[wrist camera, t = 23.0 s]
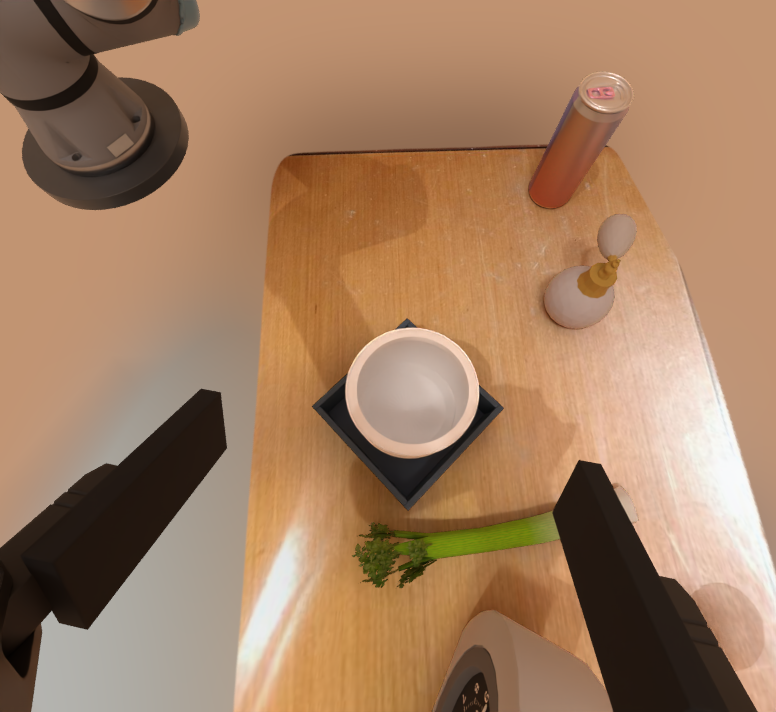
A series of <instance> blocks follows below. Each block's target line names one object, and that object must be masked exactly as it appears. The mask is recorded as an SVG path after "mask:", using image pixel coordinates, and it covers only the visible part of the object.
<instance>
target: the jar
mask: <svg viewBox="0 0 776 712" xmlns="http://www.w3.org/2000/svg"><path fill="white" fill-rule="evenodd" d="M345 395H346V403H347V407H348V411H349V414H350V416H351V418H352V420H353V422H354V424H355V425H356V427H357V428H358V430H359V431H360V432H361V433H362V434H363V435H364V437H365V438H366V439H367V440H368V441H369V442H370V443H371V444H372V445H373V446H374V447H376V448H377V449H379V450H380V451H382V452H384V453H386V454H389V455H391V456H395V457H399V458H420V457H425V456H428V455H431V454H433V453H436V452H438V451H441V450H443V449H445V448H447V447H448V446H450V445H451V444H453V443H454V442H455V441H457V440H458V439H459V438H460V437H461V436H462V435H463V434H464V432H465V431H466V430H467V429H468V427H469V426H470V424H471V422H472V420H473V418H474V416H475V413H476V410H477V407H478V402H479V383H478V378H477V374H476V371H475V369H474V366H473V364H472V362H471V361H470V359H469V358H468V356H467V355H466V353H465V352H464V351H463V350H462V349H461V348H460V347H459V346H458V345H457V344H456V343H455V342H453V341H452V340H450V339H449V338H447V337H446V336H444V335H442V334H440V333H437V332H434V331H431V330H427V329H422V328H401V329H396V330H392V331H389V332H386V333H384V334H382V335H380V336H378V337H376V338H375V339H373V340H372V341H370V342H369V343H368V344H367V345H366V346H365V347H364V348H363V349H362V350H361V351H360V352H359V353H358V355H357V356H356V358H355V359H354V361H353V363H352V365H351V367H350V369H349V372H348V375H347V380H346V388H345Z"/></svg>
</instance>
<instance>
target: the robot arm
mask: <svg viewBox="0 0 776 712" xmlns="http://www.w3.org/2000/svg"><path fill="white" fill-rule="evenodd" d="M199 19H200V14H199V9H198V5H197V2H196V0H0V93H1V94H2V95H3V96H4V97H5V98H7V100H8V101H9V102H10V103H12V104H13V105H14V106H15V108H16V109H17V110H18V112H19V114H20V115H21V117H22V118H23V120H24V122H25V123H26V125H27V127H28V128H29V130H30V131H31V133H32V135H33V136H34V138H35V140H36V141H37V143H38V144H39V146H40V148H41V149H42V150H43V152H44V153H45V154H46V156H47V157H48V158H50V159H51V160H52V161H53V162H54V163H55V164H56V165H57V166H58V167H60V168H61V169H62V170H64V171H66V172H68V173H70V174H73V175H77V176H84V177H95V176H102V175H107V174H111V173H114V172H116V171H119V170H121V169H123V168H125V167H127V166H128V165H130V164H131V163H133V162H134V161H136V160H137V159H138V158H139V157H140V156H141V155H142V154H143V153H144V152H145V151H146V149H147V148H148V146H149V144H150V143H151V141H152V138H153V135H154V129H155V125H154V119H153V116H152V114H151V112H150V111H149V109H148V108H147V106H146V105H145V103H144V102H143V101H142V99H141V98H140V97H139V96H138V95H137V94H136V93H135V92H134V91H133V90H131V89H130V88H129V87H128V86H127V85H126V84H124V83H123V82H122V81H121V80H120V79H119V78H117V77H116V76H115V75H114V74H113V73H112V72H111V71H109V70H108V69H107V68H106V67H105V66H104V65H102V64H101V63H100V62H99V61H98V60H97V58H96V57H95V56H94V54H96V53H99V52H103V51H107V50H112V49H116V48H120V47H124V46H128V45H133V44H136V43H141V42H145V41H150V40H153V39H158V38H162V37H166V36H170V35H177V36H178V35H181V34H182V33H183V32H185V31H187V30H190V29H193V28H195V27H196V26H197V25H198V23H199ZM226 449H227V445H226V436H225V427H224V418H223V409H222V400H221V393H220V392H216V391H210V390H205V389H200V390H199V391H198V392H197V393H196V394H195V395H194V396H193V397H192V398H191V399H189V400H188V401H187V402H186V403H185V404H184V405H183V406H182V407H181V408H180V409H179V410H178V411H176V412H175V413H174V414H173V415H172V416H171V417H170V418H169V419H168V420H167V421H166V422H164V423H163V424H162V425H161V426H160V427H159V428H158V429H157V430H156V431H155V432H154V433H153V434H151V435H150V436H149V437H148V438H147V439H146V440H145V441H144V442H143V443H142V444H141V445H140V446H139V447H137V448H136V449H135V450H134V451H133V452H132V453H131V454H130V455H129V456H128V457H127V458H126V459H124V460H123V461H122V462H121V463H120V464H119V465H118V466H116V465H111V464H104V465H102V466H100V467H98V468H97V469H95V470H93V471H91V472H89V473H87V474H85V475H84V476H83V477H82V478H81V479H80V480H78V481H77V482H76V483H75V484H74V485H73V486H72V487H70V488H69V489H68V492H65V493H63V494H62V495H61V496H60V497H59V498H58V499H56V500H55V501H54V504H53V505H49V506H48V507H47V508H46V509H45V510H44V511H43V512H41V513H40V514H39V515H38V516H37V517H36V518H34V519H33V520H32V521H31V522H30V523H29V524H28V525H26V526H25V527H24V528H23V529H22V530H21V531H19V532H18V533H17V534H16V535H15V536H14V537H12V538H11V539H10V540H9V541H8V542H7V543H6V544H4V545H3V546H2V547H1V548H0V712H31V708H32V702H33V694H34V687H35V680H36V673H37V665H38V659H39V651H40V644H41V637H42V627H41V622H42V621H43V620H44V619H45V618H46V616H47V615H48V614H49V613H50V612H51V611H53V613H54V615H55V617H56V618H57V620H58V622H59V623H62V624H66V625H70V626H74V627H78V628H83V629H87V630H88V629H89V627H90V626H91V625H92V623H93V622H94V621H95V619H96V618H97V617H98V616H99V614H100V613H101V611H102V610H103V609H104V608H105V606H106V605H107V604H108V602H109V601H110V600H111V599H112V597H113V596H114V595H115V593H116V592H117V591H118V589H119V588H120V587H121V586H122V584H123V583H124V582H125V580H126V579H127V578H128V576H129V575H130V574H131V573H132V571H133V570H134V569H135V567H136V566H137V565H138V563H139V562H140V561H141V559H142V558H143V557H144V556H145V554H146V553H147V552H148V550H149V549H150V548H151V546H152V545H153V544H154V543H155V541H156V540H157V539H158V537H159V536H160V535H161V533H162V532H163V531H164V529H165V528H166V527H167V526H168V524H169V523H170V522H171V520H172V519H173V518H174V516H175V515H176V514H177V512H178V511H179V510H180V509H181V507H182V506H183V505H184V503H185V502H186V501H187V500H188V498H189V497H190V496H191V494H192V493H193V492H194V490H195V489H196V488H197V486H198V485H199V484H200V483H201V481H202V480H203V479H204V477H205V476H206V475H207V473H208V472H209V471H210V470H211V468H212V467H213V466H214V464H215V463H216V462H217V460H218V459H219V458H220V457H221V455H222V454H223V452H224V451H225V450H226ZM552 514H553V517H554V520H555V524H556V527H557V530H558V533H559V537H560V540H561V543H562V546H563V550H564V553H565V556H566V559H567V563H568V566H569V569H570V572H571V576H572V579H573V582H574V586H575V589H576V592H577V595H578V599H579V602H580V605H581V608H582V612H583V615H584V618H585V621H586V625H587V628H588V631H589V634H590V638H591V641H592V644H593V647H594V651H595V654H596V657H597V661H598V664H599V667H600V670H601V674H602V677H603V680H604V683H605V687H606V690H607V693H608V696H609V700H610V703H611V706H612V709H613V712H757V710H756V708H755V706H754V705H753V703H752V701H751V699H750V698H749V696H748V694H747V692H746V691H745V689H744V687H743V685H742V684H741V682H740V680H739V678H738V677H737V675H736V673H735V671H734V670H733V668H732V666H731V664H730V662H729V661H728V659H727V657H726V655H725V654H724V652H723V650H722V648H720V647H719V646H718V641H717V640H716V638H715V636H714V634H713V633H712V631H711V629H710V628H708V627H707V622H706V620H705V619H704V617H703V615H702V613H701V612H700V610H699V608H698V606H697V605H696V603H695V601H694V600H693V599H692V598H691V596H690V595H689V594H688V593H687V592H686V591H685V590H684V589H683V587H682V586H681V585H680V584H679V583H678V582H677V581H676V580H675V579H671V578H666V577H661V576H659V575H658V573H657V571H656V569H655V567H654V565H653V563H652V562H651V560H650V558H649V556H648V554H647V552H646V550H645V548H644V546H643V544H642V542H641V540H640V538H639V536H638V535H637V533H636V531H635V529H634V527H633V525H632V523H631V521H630V519H629V517H628V515H627V513H626V511H625V509H624V508H623V506H622V504H621V502H620V500H619V498H618V496H617V494H616V492H615V490H614V488H613V486H612V484H611V482H610V481H609V479H608V477H607V475H606V473H605V471H604V469H603V467H602V465H601V464H597V463H591V462H586V461H581V460H579V461H578V463H577V465H576V467H575V469H574V471H573V472H572V474H571V476H570V478H569V480H568V482H567V484H566V486H565V488H564V490H563V492H562V494H561V496H560V498H559V500H558V502H557V504H556V506H555V508H554V510H553V512H552Z"/></svg>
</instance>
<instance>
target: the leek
mask: <svg viewBox="0 0 776 712" xmlns="http://www.w3.org/2000/svg"><path fill="white" fill-rule="evenodd" d="M614 490H615V492H616V494H617V496H618V498H619V500H620V502H621V504H622V506H623V508H624V509H625V511H626V513H627V515H628V517H629V519H630V521H631V523H635V522H637V521H638V515H637V512H636V509H635V506H634V503H633V501H632V499H631V497H630V495H629V494H628V493H627V492H626V491H625V490H624V489H623V488H622V487H621V486H619V487H617V488H615V489H614ZM552 512H553V511H550V512H547V513H543V514H540V515H536V516H533V517H529V518H524V519H519V520H515V521H510V522H505V523H501V524H496V525H491V526H486V527H482V528H473V529H464V530H455V531H445V532H436V533H420V532H410V531H400V530H394V531H391V532H393V534H391V533H390V532H389V531H390V530H388V529H389V528H387V525H381V524H380V523H378V525H375V526H377V527H374V524H375V523H374V522H373V523H371V524H372V525H369V526H371V527H372V528H371V530H370V531H372V532H371V534H368V535H359V536H362V537H365V536H366V537H365V538H368V537H369V538H373V541H367V542H366V541H365V545H366V548H365V546H364V547H363V548H362V553H361V552H360V548H361V547H360V545H359V544H357V545H356V548H355V550H356V551H357V552H355V553H356V554H355V555H352V556H353V557H355V556H357V557H360V558H359V561H360V562H361V564H360V565H359V566H360V567H361V566H363V564H364V566H363V574H367V572H370V573H369V574H368V577H371V578H372V579H371V578H370V579H369V580H367V579H366V580H363V581H362V582H364V581H365V582H370V581H371V582H372V581H373V584H376V586H375V587H380V586H381V584H382V583H383V584H382V586H381V588H382V587H383V586H384V582H386V581H387V580H388V579H386V580H383V582H382V579H384V577H385V578H386V576H387V575H389V574H392V573H393V572H394V571H395V570H394V571H393V572H392V571H391V569H392V568H393V567H389V566H391V565H393V564H394V563H395V562H396V561H393V560H392V559H396V558H399V556H398V555H400V554H401V555H410V559H412V557H413V559H412V561H410V562H408V563H405V564H403V565H401V566H398V569H396V571H398V570H399V571H402V570H404V569H407V570H406V571H405V572H404V573H405V574H403V575H402V576H401V578H402V579H400V580H399V582H400V584H399V586H400V587H399V588H403V586H404V585H403V583H407V582H409V583H410V582H412V581H413V580H414V579H416V578H417V577H418V576H421V575H423V571H424V570H425V569H424V568H426V566H429V565H431V564H432V563H434V561H437V559H438V558H446V557H453V556H461V555H468V554H476V553H483V552H490V551H497V550H503V549H509V548H515V547H522V546H528V545H534V544H541V543H545V542H550V541H554V540H559V539H560V537H559V533H558V530H557V527H556V524H555V520H554V517H553V514H552ZM378 527H379V528H378ZM376 528H378V529H376ZM383 528H384V529H383ZM387 533H389V534H387ZM369 535H370V536H369ZM386 536H388V537H386ZM389 536H392V537H398V538H407V539H415V540H412V541H408V542H404V543H400V544H399V542H397V543H398V544H397V543H394V544H395V545H394V544H391V543H390V544H389V540H388V539H390V537H389ZM384 538H388V539H386V540H385V541H382V540H383V539H384ZM366 549H367V551H368V553H367V552H365V553H364V555H362V554H363V551H365V550H366ZM394 549H395V550H394ZM392 550H394V551H392ZM358 552H359V553H358ZM360 553H361V554H360ZM369 553H370V554H369ZM393 554H394V555H393ZM367 555H369V557H367ZM433 559H434V560H433ZM435 559H436V560H435ZM430 560H431V561H433V562H431V561H430ZM428 561H429V562H431V563H429V562H428ZM363 562H364V563H363ZM426 563H427V564H428V563H429V564H428V565H427V564H426ZM425 564H426V565H425ZM423 565H425V566H423ZM411 567H412V568H411ZM410 568H411V569H410ZM389 569H390V570H389ZM377 570H378V571H377ZM388 570H389V571H391V572H387V571H388ZM414 571H415V572H414ZM376 572H377V575H376ZM420 572H421V573H420ZM388 573H389V574H388ZM394 573H395V572H394ZM419 573H420V574H419ZM383 575H384V576H383ZM408 577H410V578H408ZM408 579H409V580H408ZM406 580H408V581H406ZM405 581H406V582H405ZM360 583H361V582H360ZM373 584H372V585H373ZM397 587H398V586H397Z"/></svg>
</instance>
